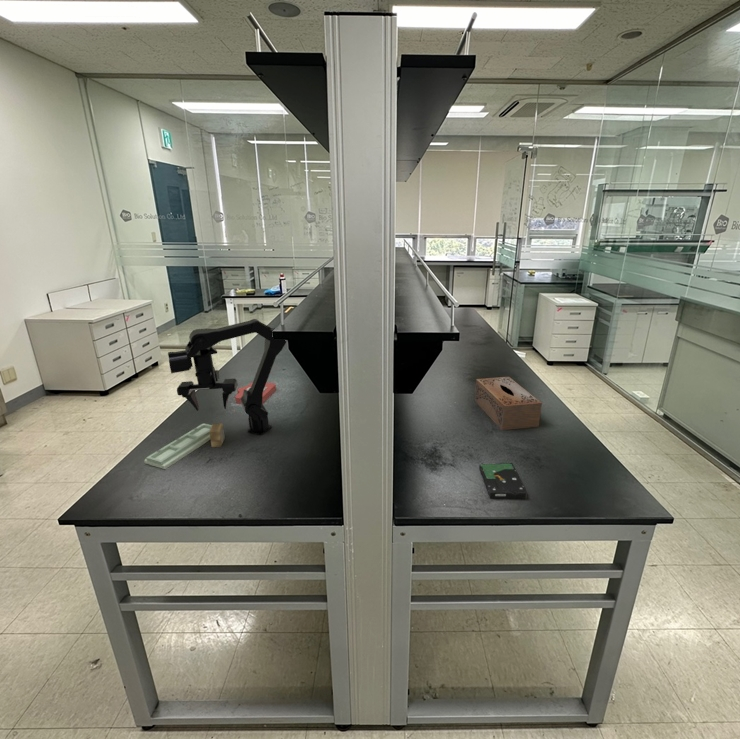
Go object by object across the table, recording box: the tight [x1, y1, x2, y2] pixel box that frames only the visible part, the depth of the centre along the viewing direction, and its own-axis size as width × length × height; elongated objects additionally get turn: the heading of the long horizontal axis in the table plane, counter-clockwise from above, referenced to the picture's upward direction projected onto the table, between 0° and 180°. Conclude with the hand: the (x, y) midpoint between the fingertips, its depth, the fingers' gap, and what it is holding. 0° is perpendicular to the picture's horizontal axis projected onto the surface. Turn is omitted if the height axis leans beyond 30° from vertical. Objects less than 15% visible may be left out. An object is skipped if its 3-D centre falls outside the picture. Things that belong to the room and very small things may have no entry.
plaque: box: [234, 381, 277, 405], centre depth 184 cm, size 18×4×15 cm
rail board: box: [143, 423, 213, 470], centre depth 145 cm, size 9×25×3 cm, turn 156°
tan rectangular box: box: [209, 422, 226, 448], centre depth 147 cm, size 3×6×6 cm, turn 6°
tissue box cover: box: [474, 376, 543, 431], centre depth 164 cm, size 26×14×10 cm, turn 9°
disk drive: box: [478, 462, 528, 500], centre depth 123 cm, size 10×3×15 cm
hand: (211, 409), depth 145 cm, fingers open, 9 cm apart
